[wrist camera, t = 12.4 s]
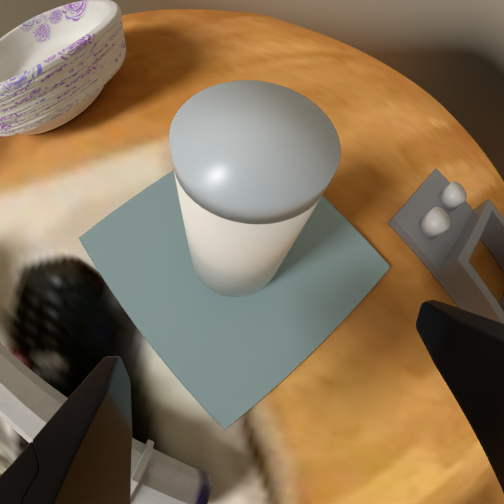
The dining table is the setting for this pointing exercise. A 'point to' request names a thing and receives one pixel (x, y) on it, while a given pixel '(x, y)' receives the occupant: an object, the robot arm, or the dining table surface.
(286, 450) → the dining table surface
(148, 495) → the grey long piece
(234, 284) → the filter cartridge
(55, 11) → the paper bowls
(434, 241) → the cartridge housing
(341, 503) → the dining table surface
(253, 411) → the dining table surface
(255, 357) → the rubber mat
